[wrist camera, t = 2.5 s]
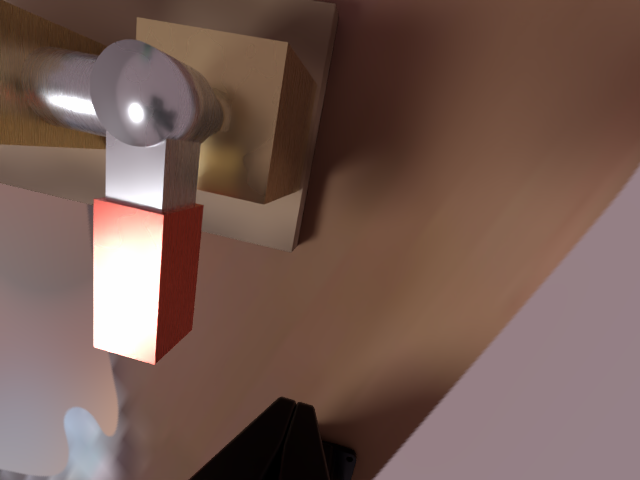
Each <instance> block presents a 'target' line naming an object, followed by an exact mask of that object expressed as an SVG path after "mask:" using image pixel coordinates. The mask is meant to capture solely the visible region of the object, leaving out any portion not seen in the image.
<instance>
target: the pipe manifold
mask: <svg viewBox="0 0 640 480" xmlns="http://www.w3.org/2000/svg"><path fill="white" fill-rule="evenodd" d="M136 40H138V41H142V42H145V43H147V44H149V45H151V46H153V47H155V48H157V49H158V50H160V51H162V52H164V53H166V54H168V55H170V56H172V57H174V58H175V59H177V60H179V61H181V62H183V63H185V64H187V65H189V66H191V67H192V68H194V69H196V70H197V71H198V72H200V73H201V74H202V75H203V76H204V77H205V78H206V80H207V81H208V82H209V84H210V86H211V88H212V90H213V92H214V95H215V99H216V104H217V116H216V122H215V125H214V128H213V130H212V132H211V134H210V135H209V137H208V138H207V139H206V140H205V141H204V142H203V143H202V144H201V146H200V157H199V168H198V180H197V190H201V191H206V192H210V193H214V194H219V195H223V196H228V197H232V198H237V199H241V200H246V201H250V202H255V203H259V204H263V205H265V204H267V203H270V202H272V201H275V200H277V199H280V198H282V197H285V196H287V195H290V194H292V193H295V192H297V191H299V187H300V181H301V175H302V170H303V164H304V158H305V153H306V147H307V141H308V136H309V130H310V124H311V119H312V113H313V107H314V101H315V96H316V90H317V83H316V82H315V80H314V79H313V78H312V76H311V75H310V73H309V72H308V70H307V69H306V68H305V66H304V65H303V63H302V62H301V60H300V59H299V57H298V56H297V55H296V53H295V52H294V50H293V49H292V47H291V46H290V44H289V43H288V42H283V41H277V40H271V39H265V38H259V37H253V36H247V35H241V34H235V33H229V32H223V31H217V30H211V29H205V28H199V27H193V26H187V25H181V24H175V23H169V22H163V21H157V20H151V19H145V18H139V17H137V26H136ZM107 47H108V46H106V45H103V44H101V43H99V42H96V41H94V40H92V39H90V38H87V37H85V36H83V35H80V34H78V33H76V32H74V31H71V30H69V29H67V28H65V27H62V26H60V25H58V24H55V23H53V22H51V21H49V20H46V19H44V18H42V17H39V16H37V15H35V14H33V13H30V12H28V11H26V10H24V9H21V8H19V7H17V6H14V5H12V4H10V3H8V2H5V1H3V0H0V144H1V145H22V146H43V147H64V148H85V149H106V129H105V128H104V126H103V125H102V124H101V122H100V120H99V119H98V117H97V115H96V113H95V110H94V107H93V104H92V100H91V94H90V78H91V73H92V69H93V66H94V64H95V62H96V60H97V58H98V56H99V55H100V54H101V53H102V51H103V50H104V49H105V48H107Z"/></svg>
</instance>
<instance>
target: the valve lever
mask: <svg viewBox="0 0 640 480" xmlns="http://www.w3.org/2000/svg"><path fill="white" fill-rule="evenodd" d="M90 94H91V100H92V104H93V107H94V110H95V113H96V115H97V117H98V119H99V120H100V122H101V124H102V125H103V126H104V128H105V129H106V197H103V198H96V199H94V347H96V348H99V349H103V350H106V351H110V352H113V353H117V354H120V355H124V356H127V357H130V358H134V359H137V360H141V361H144V362H148V363H151V364H154V365H155V364H156V363H157V362H158V361H159V360H160V359H161V358H162V357H163V356H164V355H165V354H166V353H168V352H169V351H170V350H171V349H172V348H173V347H174V346H175V345H176V344H177V343H178V342H179V341H180V340H181V339H183V338H184V337H185V336H186V335H187V334H188V333H189V332H190V331H191V330H192V324H193V313H194V303H195V292H196V282H197V271H198V261H199V250H200V239H201V229H202V218H203V208H204V205H201V204H197V203H196V191H197V180H198V168H199V157H200V146H201V144H202V143H203V142H204V141H205V140H206V139H207V138H208V137H209V135H210V134H211V132H212V130H213V128H214V125H215V122H216V116H217V104H216V99H215V95H214V92H213V90H212V88H211V86H210V84H209V82H208V81H207V80H206V78H205V77H204V76H203V75H202V74H201V73H200V72H198V71H197V70H196V69H194V68H192V67H191V66H189V65H187V64H185V63H183V62H181V61H179V60H177V59H175V58H174V57H172V56H170V55H168V54H166V53H164V52H162V51H160V50H158V49H157V48H155V47H153V46H151V45H149V44H147V43H145V42H142V41H138V40H132V39H127V40H121V41H117V42H115V43H112V44H111V45H109V46H108V47H107V48H105V49H104V50H103V51H102V53H101V54H100V55H99V56H98V58H97V60H96V62H95V64H94V66H93V69H92V73H91V78H90Z"/></svg>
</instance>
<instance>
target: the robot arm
mask: <svg viewBox="0 0 640 480" xmlns="http://www.w3.org/2000/svg"><path fill="white" fill-rule="evenodd" d="M348 456H350V457H348ZM355 463H356V452H355V451H354V450H352V449H349V448H346V447H342V446H339V445H336V444H332V443H329V442H326V441H322V440H321V436H320V431H319V427H318V422H317V417H316V413H315V409H314V407H313V406H312V405H309V404H305V403H302V402H298V403H297V404H296V402H295V401H294V400H292V399H288V398H285V397H279V398H278V399H277V400H276V401H275V402H273V403H272V404H271V405H270V406H269V407H268V408H267V409H266V410H265V411H264V412H262V413H261V414H260V415H259V416H258V417H257V418H256V419H255V420H254V421H253V422H251V423H250V424H249V425H248V426H247V427H246V428H245V429H244V430H243V431H242V432H240V433H239V434H238V435H237V436H236V437H235V438H234V439H233V440H232V441H231V442H229V443H228V444H227V445H226V446H225V447H224V448H223V449H222V450H221V451H220V452H219V453H217V454H216V455H215V456H214V457H213V458H212V459H211V460H210V461H209V462H208V463H206V464H205V465H204V466H203V467H202V468H201V469H200V470H199V471H198V472H197V473H195V474H194V475H193V476H192V477H191V478H190V479H189V480H351V477H352V474H353V470H354V467H355Z"/></svg>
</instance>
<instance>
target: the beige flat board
mask: <svg viewBox="0 0 640 480" xmlns="http://www.w3.org/2000/svg"><path fill="white" fill-rule="evenodd" d="M3 1H5V2H8V3H10V4H12V5H14V6H17V7H19V8H21V9H24V10H26V11H28V12H30V13H33V14H35V15H37V16H39V17H42V18H44V19H46V20H49V21H51V22H53V23H55V24H58V25H60V26H62V27H65V28H67V29H69V30H71V31H74V32H76V33H78V34H80V35H83V36H85V37H87V38H90V39H92V40H94V41H96V42H99V43H101V44H103V45H106V46H109V45H111V44H112V43H115V42H117V41H121V40H127V39H132V40H136V26H137V17H139V18H145V19H151V20H157V21H163V22H169V23H175V24H181V25H187V26H193V27H199V28H205V29H211V30H217V31H223V32H229V33H235V34H241V35H247V36H253V37H259V38H265V39H271V40H277V41H283V42H288V43H289V44H290V46H291V47H292V49H293V50H294V52H295V53H296V55H297V56H298V57H299V59H300V60H301V62H302V63H303V65H304V66H305V68H306V69H307V70H308V72H309V73H310V75H311V76H312V78H313V79H314V80H315V82H316V83H317V90H316V96H315V101H314V107H313V113H312V119H311V124H310V130H309V136H308V141H307V147H306V153H305V158H304V164H303V170H302V175H301V181H300V187H299V191H297V192H295V193H292V194H290V195H287V196H285V197H282V198H280V199H277V200H275V201H272V202H270V203H267V204H265V205H263V204H259V203H255V202H250V201H246V200H241V199H237V198H232V197H228V196H223V195H219V194H214V193H210V192H206V191H201V190H197V191H196V203H197V204H201V205H204V208H203V218H202V229H201V231H203V232H207V233H211V234H216V235H220V236H224V237H228V238H232V239H236V240H241V241H245V242H249V243H253V244H257V245H262V246H266V247H270V248H274V249H278V250H283V251H287V252H292V251H293V250H294V249H295V248H296V247H297V243H298V238H299V232H300V227H301V222H302V216H303V211H304V205H305V200H306V194H307V189H308V183H309V178H310V172H311V167H312V161H313V156H314V150H315V145H316V139H317V134H318V128H319V123H320V117H321V112H322V107H323V101H324V96H325V90H326V85H327V79H328V74H329V68H330V63H331V57H332V52H333V46H334V41H335V35H336V30H337V24H338V19H339V16H338V12H337V7H336V4H334V3H327V2H321V1H314V0H3ZM0 183H2V184H6V185H10V186H15V187H19V188H23V189H27V190H31V191H35V192H40V193H44V194H48V195H52V196H56V197H61V198H65V199H69V200H73V201H77V202H82V203H86V204H90V205H94V199H96V198H103V197H106V149H85V148H64V147H43V146H22V145H1V144H0Z"/></svg>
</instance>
